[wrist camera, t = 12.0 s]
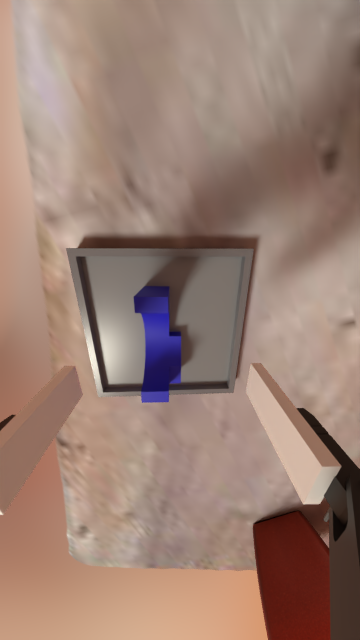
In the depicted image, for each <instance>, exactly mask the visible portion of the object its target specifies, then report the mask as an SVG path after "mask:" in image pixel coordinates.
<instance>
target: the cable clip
mask: <svg viewBox="0 0 360 640" xmlns="http://www.w3.org/2000/svg"><path fill="white" fill-rule="evenodd" d="M134 309H135V313H141V315H142V318H143V322H144V329H145V369H144V378H143V385H142V390H141V398H142V403H143V402H169V383H181V332H169V286H144V287H143V288H142V289H141V290H140V291H139V292H138V293H137V294H136V295H135V296H134Z"/></svg>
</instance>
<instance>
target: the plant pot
mask: <svg viewBox="0 0 360 640" xmlns="http://www.w3.org/2000/svg"><path fill="white" fill-rule="evenodd" d="M253 537H254V549H255V558H256V567H257V574H258V582H259V589H260V595H261V601H262V608H263V613H264V619H265V625H266V630H267V636H268V640H331V638H330V561H329V548H328V546H327V545H326V544H325V542H324V541H323V540H322V538H321V537H320V536H319V534H318V533H317V532H316V530H315V529H314V528H313V526H312V525H311V524H310V522H309V521H308V520H307V519H306V517H305V516H304V515H303V514H302V513H301V512H300V511H296V512H292V513H289V514H286V515H283V516H280V517H276V518H273V519H270V520H267V521H264V522H260V523H257V524H255V525H253Z"/></svg>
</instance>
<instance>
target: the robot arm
mask: <svg viewBox="0 0 360 640" xmlns="http://www.w3.org/2000/svg"><path fill="white" fill-rule="evenodd" d="M246 393H247V395H248V397H249V399H250V401H251V403H252V405H253V407H254V409H255V411H256V413H257V415H258V417H259V419H260V421H261V423H262V425H263V427H264V428H265V430H266V432H267V434H268V436H269V438H270V440H271V442H272V444H273V446H274V448H275V450H276V452H277V454H278V456H279V458H280V460H281V462H282V464H283V466H284V468H285V470H286V472H287V474H288V476H289V478H290V479H291V481H292V483H293V485H294V487H295V489H296V491H297V493H298V495H299V497H300V499H301V501H302V503H303V504H320V503H321V501H322V500H323V498H324V497H325V498H326V500H327V502H328V503H329V505H330V507H329V509H328V511H327V512H326V514H325V516H324V519H323V520H324V521H325V522H327V521H328V519H329V561H330V638H331V640H360V469H359V468H358V467H357V466H356V465H355V464H354V462H353V461H352V460H351V459H350V458H349V457H348V455H347V454H346V453H345V452H344V451H343V450H342V448H341V447H340V446H339V445H338V444H337V442H336V441H335V440H334V439H333V438H332V437H331V435H329V434H328V432H327V431H326V430H325V428H324V427H322V425H321V424H320V423H319V421H318V420H317V419H316V418H315V417H314V416H313V415H312V414H311V413H309V412H308V411H307V410H305V409H304V408H296V407H295V406H294V405H293V404H292V402H291V401H290V400H289V398H288V397H287V396H286V395H285V393H284V392H283V391H282V390H281V388H280V387H279V386H278V384H277V383H276V382H275V381H274V379H273V378H272V377H271V375H270V374H269V373H268V372H267V370H266V369H265V368H264V367H263V365H262V364H261V363H251V366H250V372H249V377H248V382H247V388H246ZM82 395H83V393H82V390H81V386H80V382H79V379H78V375H77V372H76V368H75V366H64V367H63V368H62V369H61V370H60V371H59V372H58V373H57V374H56V375H55V376H54V377H53V378H52V379H51V380H50V381H49V382H48V383H47V384H46V385H45V386H44V387H43V388H42V389H41V390H40V391H39V392H38V394H37V395H35V396H34V397H33V398H32V400H30V402H28V404H26V405H25V406H24V408H23V409H22V410H21V411H20V412H19V413H18V414H17V415H11V416H9V417H8V418H6V419H5V420H4V421H2V422H1V423H0V515H4V513H5V512H6V511H7V509H8V507H9V506H10V504H11V503H12V501H13V500H14V498H15V497H16V495H17V494H18V492H19V491H20V489H21V488H22V486H23V485H24V483H25V482H26V480H27V479H28V477H29V476H30V474H31V473H32V471H33V470H34V468H35V467H36V465H37V464H38V462H39V461H40V459H41V457H42V456H43V454H44V453H45V451H46V450H47V448H48V447H49V445H50V444H51V442H52V441H53V439H54V438H55V436H56V435H57V433H58V432H59V430H60V429H61V427H62V426H63V424H64V423H65V421H66V420H67V418H68V417H69V415H70V413H71V412H72V410H73V409H74V407H75V406H76V404H77V403H78V401H79V400H80V398H81V397H82Z"/></svg>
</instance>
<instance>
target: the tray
mask: <svg viewBox="0 0 360 640" xmlns="http://www.w3.org/2000/svg"><path fill="white" fill-rule="evenodd" d="M66 250H67V254H68V259H69V264H70V268H71V273H72V277H73V282H74V287H75V291H76V296H77V301H78V305H79V310H80V314H81V319H82V324H83V328H84V333H85V338H86V342H87V347H88V351H89V356H90V361H91V365H92V370H93V375H94V379H95V384H96V388H97V393H98V397H116V396H141V390H142V385H143V378H144V369H145V329H144V322H143V318H142V315H141V313H135V309H134V296H135V295H136V294H137V293H138V292H139V291H140V290H141V289H142V288H143V287H144V286H169V332H181V383H169V395H178V394H208V393H234V386H235V379H236V371H237V364H238V357H239V350H240V343H241V336H242V329H243V322H244V314H245V307H246V300H247V293H248V286H249V279H250V272H251V264H252V257H253V250H254V249H146V248H66Z"/></svg>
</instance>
